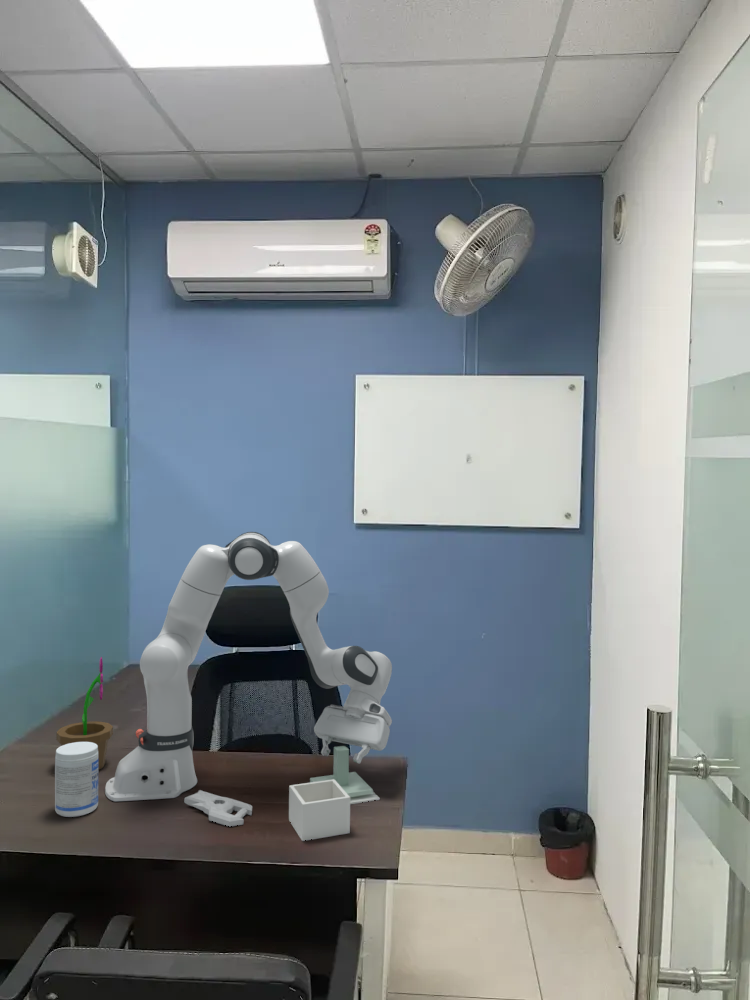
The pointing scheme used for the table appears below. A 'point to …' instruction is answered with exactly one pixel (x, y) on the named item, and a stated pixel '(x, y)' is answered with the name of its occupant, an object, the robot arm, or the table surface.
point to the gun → (219, 808)
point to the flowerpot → (89, 726)
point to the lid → (345, 775)
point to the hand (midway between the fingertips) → (340, 758)
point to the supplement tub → (76, 779)
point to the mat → (363, 798)
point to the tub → (319, 809)
